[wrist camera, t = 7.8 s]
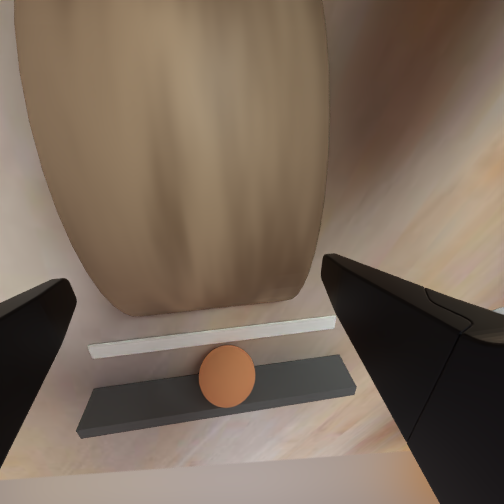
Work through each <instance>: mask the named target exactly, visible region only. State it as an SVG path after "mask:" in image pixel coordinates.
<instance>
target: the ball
mask: <svg viewBox="0 0 504 504" xmlns="http://www.w3.org/2000/svg"><path fill="white" fill-rule="evenodd" d="M254 383H255V368H254V364H253V361H252V360H251V358H250V356H249V355H248V354H247V353H246V352H245V351H244V350H243V349H241V348H239V347H236V346H233V345H224V346H220V347H218V348H215V349H214V350H212V351H211V352H210V353H209V354H208V355H207V356H206V357H205V359H204V360H203V362H202V364H201V367H200V371H199V384H200V388H201V391H202V393H203V395H204V396H205V397H206V399H207V400H208V401H209V402H211V403H212V404H214V405H216V406H218V407H223V408H229V407H234V406H236V405H238V404H240V403H242V402H243V401H244V400H245V399H246V398H247V397H248V396H249V394H250V393H251V391H252V389H253V386H254Z"/></svg>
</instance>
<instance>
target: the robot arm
mask: <svg viewBox="0 0 504 504" xmlns="http://www.w3.org/2000/svg"><path fill="white" fill-rule="evenodd" d="M321 279H322V281H323V284H324V286H325V289H326V291H327V294H328V296H329V299H330V301H331V304H332V306H333V308H334V311H335V313H336V315H337V317H338V318H339V320H340V322H341V324H342V326H343V328H344V329H345V331H346V333H347V335H348V337H349V339H350V340H351V342H352V344H353V346H354V348H355V349H356V351H357V353H358V355H359V357H360V359H361V360H362V362H363V364H364V366H365V368H366V370H367V371H368V373H369V375H370V377H371V379H372V380H373V382H374V384H375V386H376V388H377V390H378V391H379V393H380V395H381V397H382V399H383V401H384V402H385V404H386V406H387V408H388V410H389V411H390V413H391V415H392V417H393V419H394V421H395V422H396V424H397V426H398V428H399V430H400V431H401V433H402V435H403V437H404V439H405V441H406V442H407V445H408V446H409V448H410V450H411V452H412V454H413V456H414V457H415V459H416V461H417V463H418V464H419V467H420V468H421V470H422V472H423V474H424V476H425V477H426V479H427V481H428V483H429V485H430V487H431V488H432V490H433V492H434V494H435V495H436V497H437V499H438V501H439V503H440V504H504V315H503V314H500V313H497V312H494V311H491V310H488V309H485V308H482V307H479V306H476V305H473V304H470V303H467V302H464V301H461V300H458V299H455V298H453V297H450V296H447V295H444V294H441V293H439V292H436V291H433V290H431V289H428V288H425V289H424V287H423V286H420V285H417V284H415V283H412V282H409V281H407V280H404V279H401V278H399V277H396V276H393V275H391V274H388V273H385V272H383V271H380V270H378V269H375V268H372V267H370V266H367V265H364V264H362V263H359V262H356V261H354V260H351V259H348V258H346V257H343V256H340V255H338V254H334V253H333V254H325V255H324V256H323V260H322V268H321ZM76 303H77V300H76V296H75V294H74V291H73V289H72V287H71V285H70V282H69V281H68V280H67V279H65V278H60V279H52V280H49V281H47V282H45V283H43V284H41V285H38V286H36V287H34V288H32V289H30V290H27V291H25V292H23V293H21V294H19V295H17V296H14V297H12V298H10V299H8V300H6V301H3V302H1V303H0V468H1V466H2V464H3V462H4V460H5V458H6V456H7V454H8V452H9V450H10V448H11V446H12V444H13V442H14V440H15V438H16V436H17V434H18V432H19V430H20V428H21V426H22V424H23V422H24V420H25V418H26V416H27V414H28V412H29V410H30V408H31V406H32V404H33V402H34V400H35V398H36V396H37V394H38V392H39V390H40V388H41V386H42V384H43V382H44V379H45V377H46V375H47V373H48V371H49V369H50V367H51V365H52V363H53V361H54V359H55V357H56V355H57V353H58V351H59V349H60V347H61V345H62V342H63V340H64V337H65V335H66V332H67V329H68V326H69V324H70V321H71V318H72V315H73V313H74V310H75V307H76Z"/></svg>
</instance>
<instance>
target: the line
mask: <svg viewBox="0 0 504 504" xmlns="http://www.w3.org/2000/svg"><path fill="white" fill-rule="evenodd" d="M335 322H336V316H335V315H333V316H325V317H316V318H308V319H300V320H292V321H283V322H275V323H267V324H258V325H250V326H242V327H233V328H225V329H217V330H209V331H200V332H192V333H184V334H175V335H167V336H159V337H150V338H142V339H134V340H126V341H117V342H109V343H101V344H92V345H88V347H87V348H88V350H89V352H90V354H91V356H92V359H98V358H106V357H114V356H122V355H130V354H138V353H146V352H154V351H161V350H169V349H177V348H185V347H193V346H201V345H209V344H217V343H224V342H232V341H240V340H248V339H256V338H264V337H272V336H280V335H287V334H295V333H303V332H311V331H319V330H327V329H334V327H335Z"/></svg>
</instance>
